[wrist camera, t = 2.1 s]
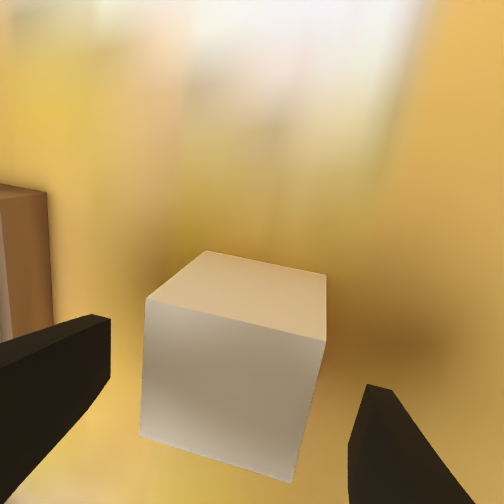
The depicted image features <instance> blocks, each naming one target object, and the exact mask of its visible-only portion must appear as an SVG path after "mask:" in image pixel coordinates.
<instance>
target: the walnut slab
mask: <svg viewBox="0 0 504 504" xmlns="http://www.w3.org/2000/svg"><path fill="white" fill-rule="evenodd" d="M53 325H54V323H53V304H52V285H51V266H50V248H49V229H48V210H47V193H46V192H41V191H36V190H30V189H25V188H20V187H15V186H10V185H5V184H0V333H1V343H2V342H5V341H8V340H11V339H14V338H17V337H20V336H23V335H26V334H29V333H32V332H35V331H38V330H41V329H44V328H47V327H50V326H53Z"/></svg>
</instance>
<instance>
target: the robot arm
mask: <svg viewBox="0 0 504 504" xmlns="http://www.w3.org/2000/svg"><path fill="white" fill-rule="evenodd" d="M110 373H111V319H109V318H105V317H101V316H97V315H93V314H90V315H86V316H82V317H79V318H75V319H72V320H69V321H66V322H63V323H60V324H57V325H53V326H50V327H47V328H44V329H41V330H38V331H35V332H32V333H29V334H26V335H23V336H20V337H17V338H14V339H11V340H8V341H5V342H2V343H0V504H4V503H5V502H6V500H7V499H8V498H9V497H10V496H11V495H12V493H13V492H14V491H15V490H16V489H17V487H18V486H19V485H20V484H21V483H22V482H23V481H24V480H25V479H26V477H27V476H28V475H29V474H30V473H31V472H32V471H33V470H34V469H35V468H36V466H37V465H38V464H39V463H40V462H41V461H42V460H43V459H44V458H45V457H46V455H47V454H48V453H49V452H50V451H51V450H52V449H53V448H54V447H55V446H56V444H57V443H58V442H59V441H60V440H61V439H62V438H63V437H64V436H65V435H66V433H67V432H68V431H69V430H70V429H71V428H72V427H73V426H74V425H75V423H76V422H77V421H78V420H79V419H80V418H81V417H82V416H83V414H84V413H85V412H86V411H87V410H88V409H89V407H90V406H91V405H92V403H93V402H94V400H95V399H96V398H97V396H98V395H99V394H100V392H101V391H102V389H103V388H104V386H105V385H106V383H107V382H108V380H109V379H110ZM348 494H349V504H475V503H474V501H473V500H472V499H471V498H470V496H469V495H468V494H467V493H466V491H465V490H464V489H463V488H462V486H461V485H460V484H459V482H458V481H457V480H456V479H455V477H454V476H453V475H452V473H451V472H450V471H449V469H448V468H447V467H446V465H445V464H444V463H443V461H442V460H441V459H440V457H439V456H438V455H437V453H436V452H435V451H434V449H433V448H432V446H431V445H430V444H429V442H428V441H427V439H426V438H425V437H424V435H423V434H422V432H421V431H420V430H419V428H418V427H417V425H416V424H415V423H414V421H413V420H412V418H411V417H410V415H409V414H408V412H407V411H406V410H405V408H404V407H403V405H402V404H401V402H400V401H399V400H398V398H397V397H396V395H395V394H394V393H393V391H392V390H389V389H385V388H381V387H378V386H374V385H370V384H367V385H366V388H365V391H364V394H363V398H362V401H361V404H360V407H359V411H358V414H357V417H356V420H355V424H354V427H353V430H352V433H351V437H350V440H349V443H348Z"/></svg>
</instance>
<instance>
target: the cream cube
mask: <svg viewBox="0 0 504 504" xmlns="http://www.w3.org/2000/svg"><path fill="white" fill-rule="evenodd" d="M325 345H326V275H324V274H320V273H315V272H310V271H305V270H300V269H295V268H291V267H286V266H281V265H276V264H271V263H266V262H262V261H257V260H252V259H247V258H242V257H237V256H233V255H228V254H223V253H218V252H213V251H208V250H205V251H204V252H203V253H201V254H200V255H199V256H198V257H196V258H195V259H194V260H193V261H191V262H190V263H189V264H188V265H186V266H185V267H184V268H183V269H181V270H180V271H179V272H178V273H176V274H175V275H174V276H173V277H171V278H170V279H169V280H168V281H166V282H165V283H164V284H163V285H161V286H160V287H159V288H158V289H156V290H155V291H154V292H153V293H151V294H150V295H149V296H148V297H147V298H146V302H145V324H144V345H143V367H142V389H141V410H140V432H139V437H143V438H146V439H149V440H152V441H155V442H159V443H162V444H165V445H168V446H171V447H175V448H178V449H181V450H184V451H188V452H191V453H194V454H197V455H200V456H204V457H207V458H210V459H213V460H216V461H220V462H223V463H226V464H229V465H232V466H236V467H239V468H242V469H245V470H248V471H252V472H255V473H258V474H261V475H265V476H268V477H271V478H274V479H277V480H281V481H284V482H287V483H290V484H291V483H292V479H293V475H294V471H295V467H296V463H297V459H298V455H299V451H300V447H301V443H302V439H303V435H304V431H305V427H306V422H307V418H308V414H309V410H310V406H311V402H312V398H313V394H314V390H315V386H316V382H317V378H318V374H319V370H320V365H321V361H322V357H323V353H324V349H325Z"/></svg>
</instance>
